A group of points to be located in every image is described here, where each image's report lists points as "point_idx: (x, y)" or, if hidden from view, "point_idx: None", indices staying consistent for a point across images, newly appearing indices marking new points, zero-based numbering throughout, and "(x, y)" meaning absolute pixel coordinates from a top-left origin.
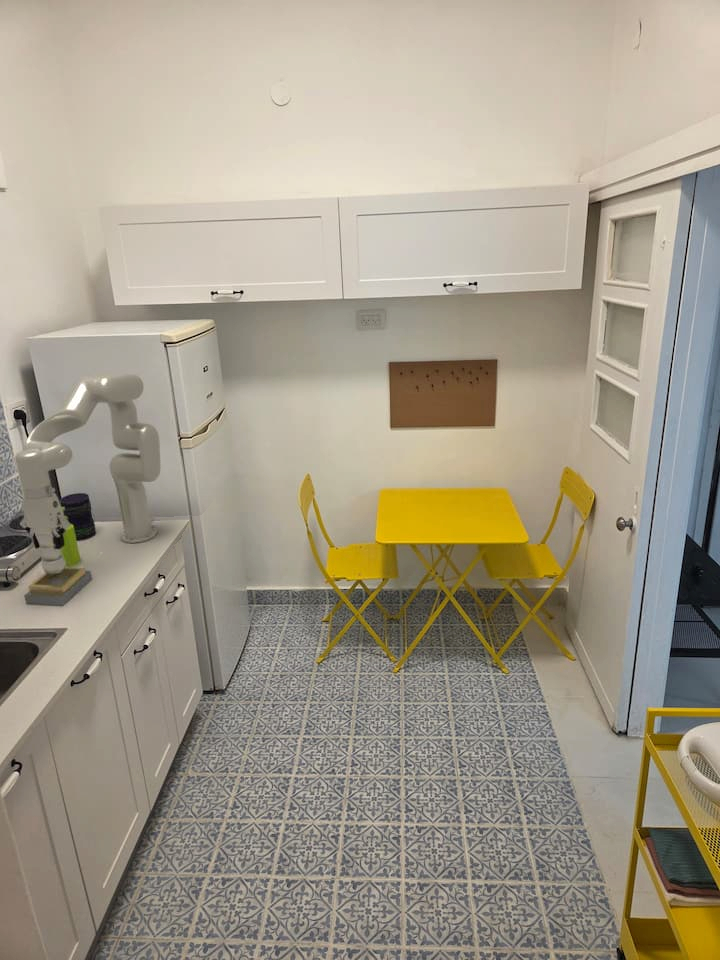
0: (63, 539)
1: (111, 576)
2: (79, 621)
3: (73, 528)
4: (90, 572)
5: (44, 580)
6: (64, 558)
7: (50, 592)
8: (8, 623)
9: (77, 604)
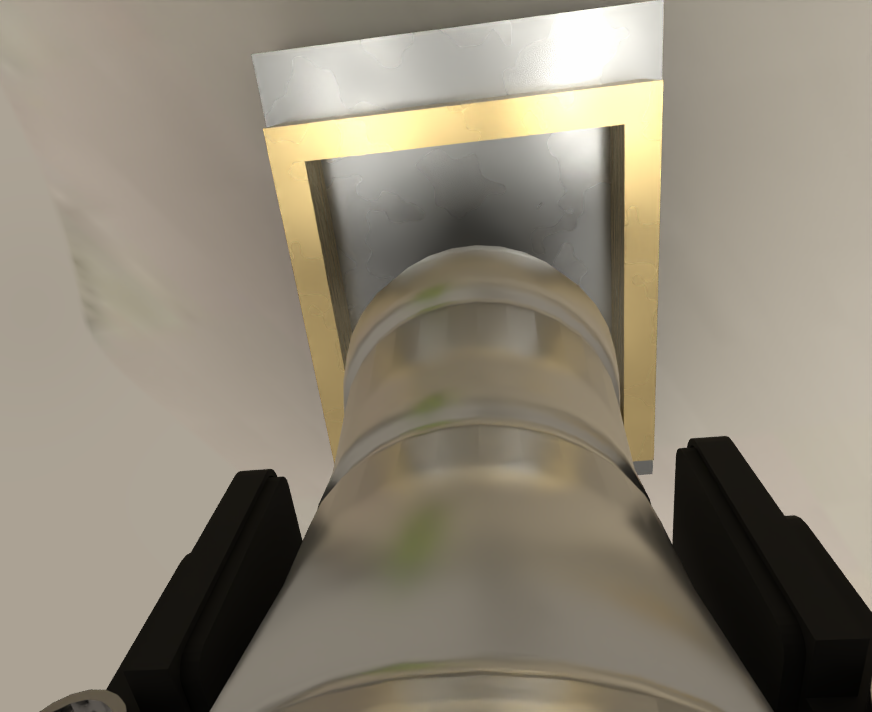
0: (845, 592)
1: None
2: (845, 553)
3: None
4: (658, 8)
5: (343, 310)
6: (587, 312)
7: None
8: None
9: (728, 399)
